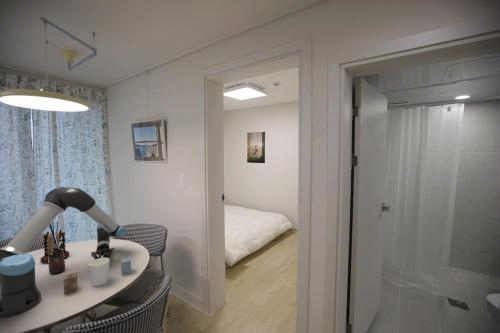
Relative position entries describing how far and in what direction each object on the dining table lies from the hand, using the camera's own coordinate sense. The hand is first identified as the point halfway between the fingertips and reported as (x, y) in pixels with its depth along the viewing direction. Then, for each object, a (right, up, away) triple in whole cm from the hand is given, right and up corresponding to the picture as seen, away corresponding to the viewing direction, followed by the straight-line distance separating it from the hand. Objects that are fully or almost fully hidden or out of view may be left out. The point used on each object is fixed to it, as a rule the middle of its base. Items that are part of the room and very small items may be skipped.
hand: (101, 262), depth 132 cm
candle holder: (+5, -8, -9) cm, 13 cm away
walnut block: (-5, -8, -16) cm, 19 cm away
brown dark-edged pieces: (-44, -6, +18) cm, 48 cm away
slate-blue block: (+14, -7, +1) cm, 16 cm away
